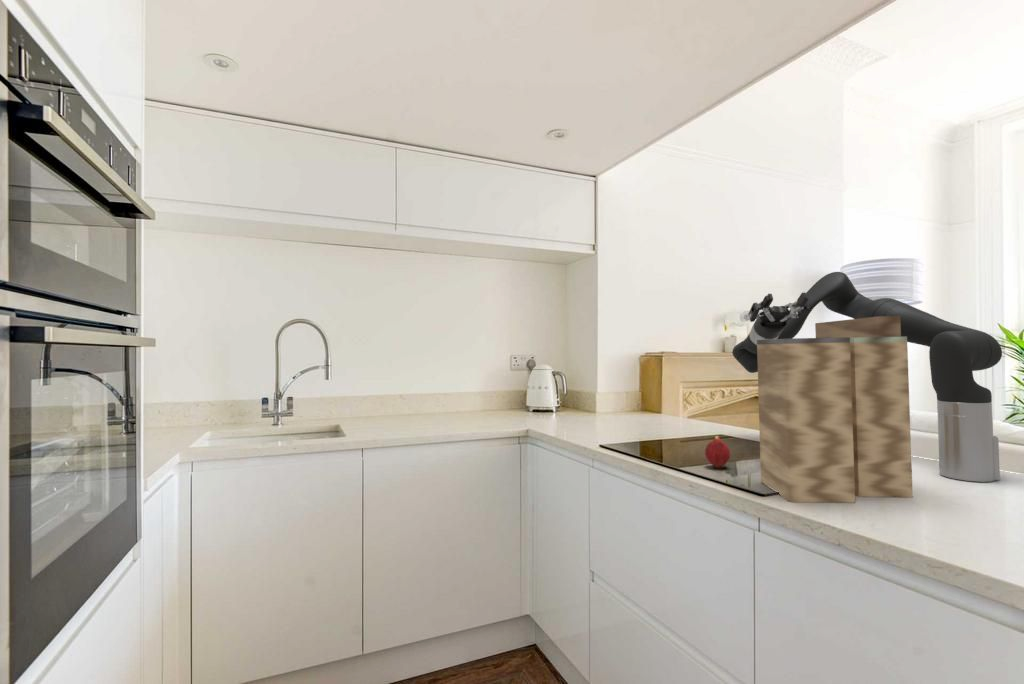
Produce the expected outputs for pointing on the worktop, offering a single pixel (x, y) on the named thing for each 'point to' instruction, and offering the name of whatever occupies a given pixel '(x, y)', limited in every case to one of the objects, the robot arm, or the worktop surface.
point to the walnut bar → (860, 327)
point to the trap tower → (806, 418)
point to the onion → (717, 452)
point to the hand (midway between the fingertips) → (788, 295)
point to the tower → (881, 417)
